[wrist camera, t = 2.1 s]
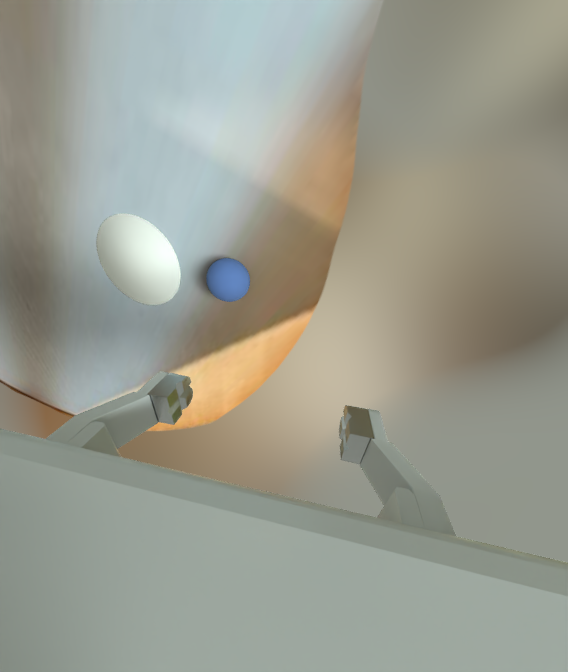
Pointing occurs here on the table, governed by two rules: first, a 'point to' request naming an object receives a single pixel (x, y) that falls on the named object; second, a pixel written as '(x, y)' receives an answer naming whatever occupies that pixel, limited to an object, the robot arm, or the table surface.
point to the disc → (138, 259)
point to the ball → (228, 279)
